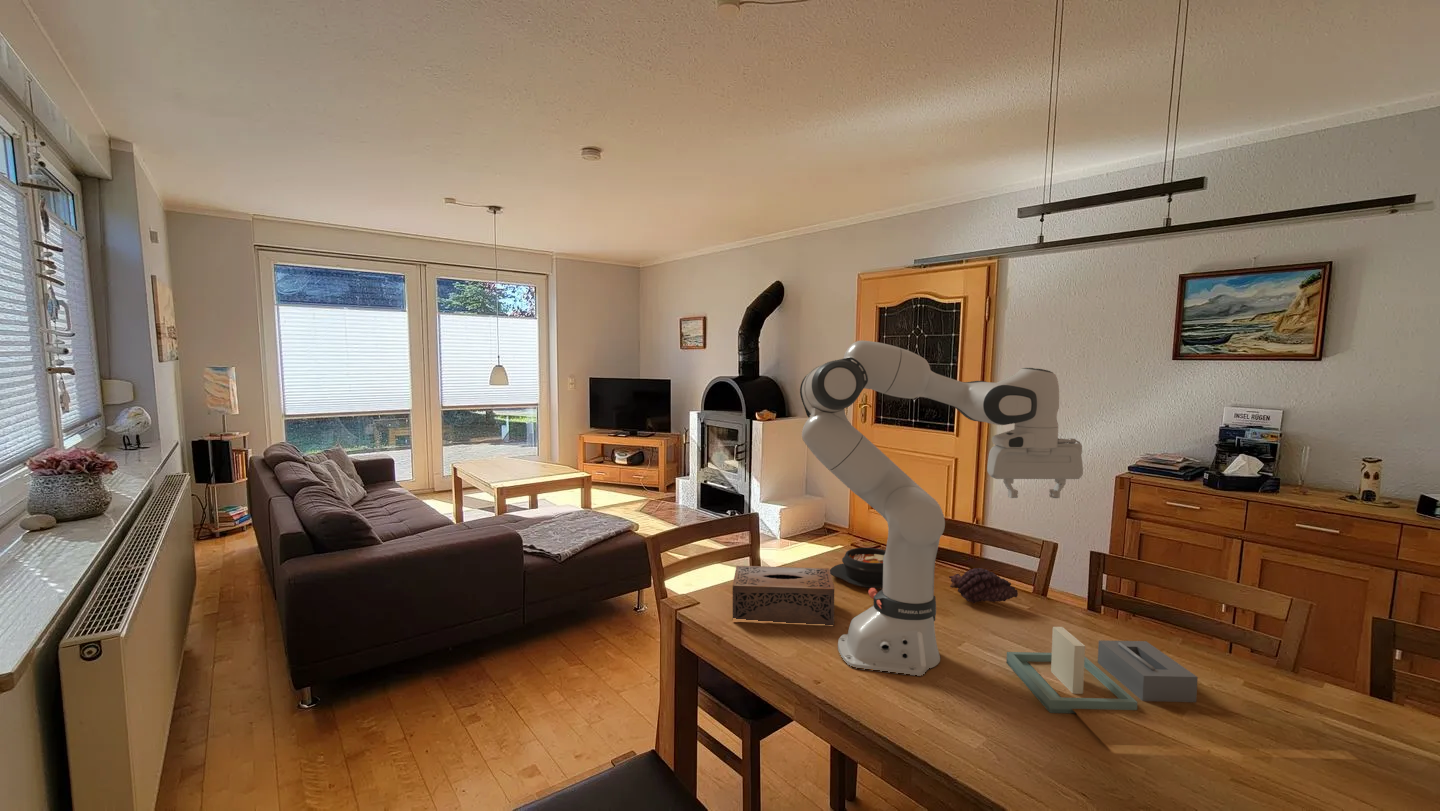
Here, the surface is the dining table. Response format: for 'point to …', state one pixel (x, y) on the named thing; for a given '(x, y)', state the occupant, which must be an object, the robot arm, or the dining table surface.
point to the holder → (1147, 671)
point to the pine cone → (982, 586)
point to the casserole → (861, 567)
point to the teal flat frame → (1051, 696)
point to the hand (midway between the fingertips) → (1033, 497)
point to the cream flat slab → (1068, 659)
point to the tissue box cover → (783, 594)
